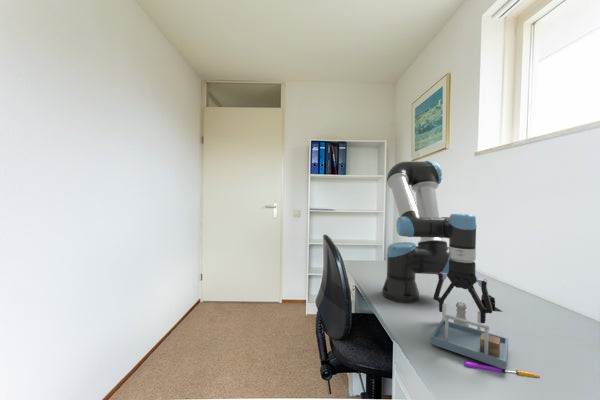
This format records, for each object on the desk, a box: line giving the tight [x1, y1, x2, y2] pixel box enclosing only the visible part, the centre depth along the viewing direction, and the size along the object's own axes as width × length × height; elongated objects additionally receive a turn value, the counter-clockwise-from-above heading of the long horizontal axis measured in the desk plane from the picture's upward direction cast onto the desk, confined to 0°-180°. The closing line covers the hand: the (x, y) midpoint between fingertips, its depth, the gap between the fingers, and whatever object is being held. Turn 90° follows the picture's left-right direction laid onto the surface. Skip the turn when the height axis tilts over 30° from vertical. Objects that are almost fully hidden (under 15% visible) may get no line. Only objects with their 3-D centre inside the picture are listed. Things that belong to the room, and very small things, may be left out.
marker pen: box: [463, 360, 541, 378], centre depth 64 cm, size 3×1×16 cm
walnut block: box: [480, 333, 500, 358], centre depth 68 cm, size 4×4×4 cm
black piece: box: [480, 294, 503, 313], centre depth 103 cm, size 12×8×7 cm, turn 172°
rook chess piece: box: [453, 301, 469, 327], centre depth 85 cm, size 4×4×8 cm
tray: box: [430, 313, 509, 371], centre depth 73 cm, size 14×17×10 cm
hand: (461, 326), depth 85 cm, fingers open, 9 cm apart
